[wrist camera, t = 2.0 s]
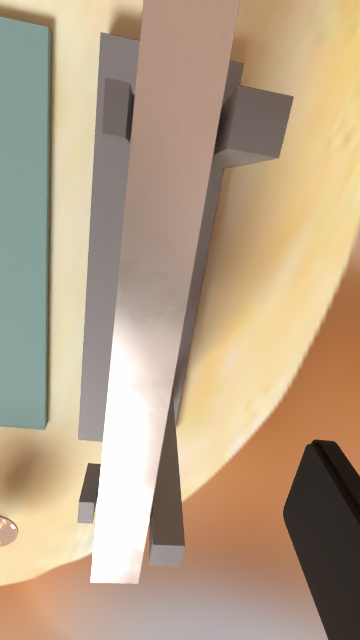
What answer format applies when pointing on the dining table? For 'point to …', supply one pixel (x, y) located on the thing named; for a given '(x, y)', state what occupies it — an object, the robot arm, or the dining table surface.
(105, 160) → the rail stand
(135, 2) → the dining table surface
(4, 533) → the wineglass
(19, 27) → the teal mat
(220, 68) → the steel rail
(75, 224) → the dining table surface
